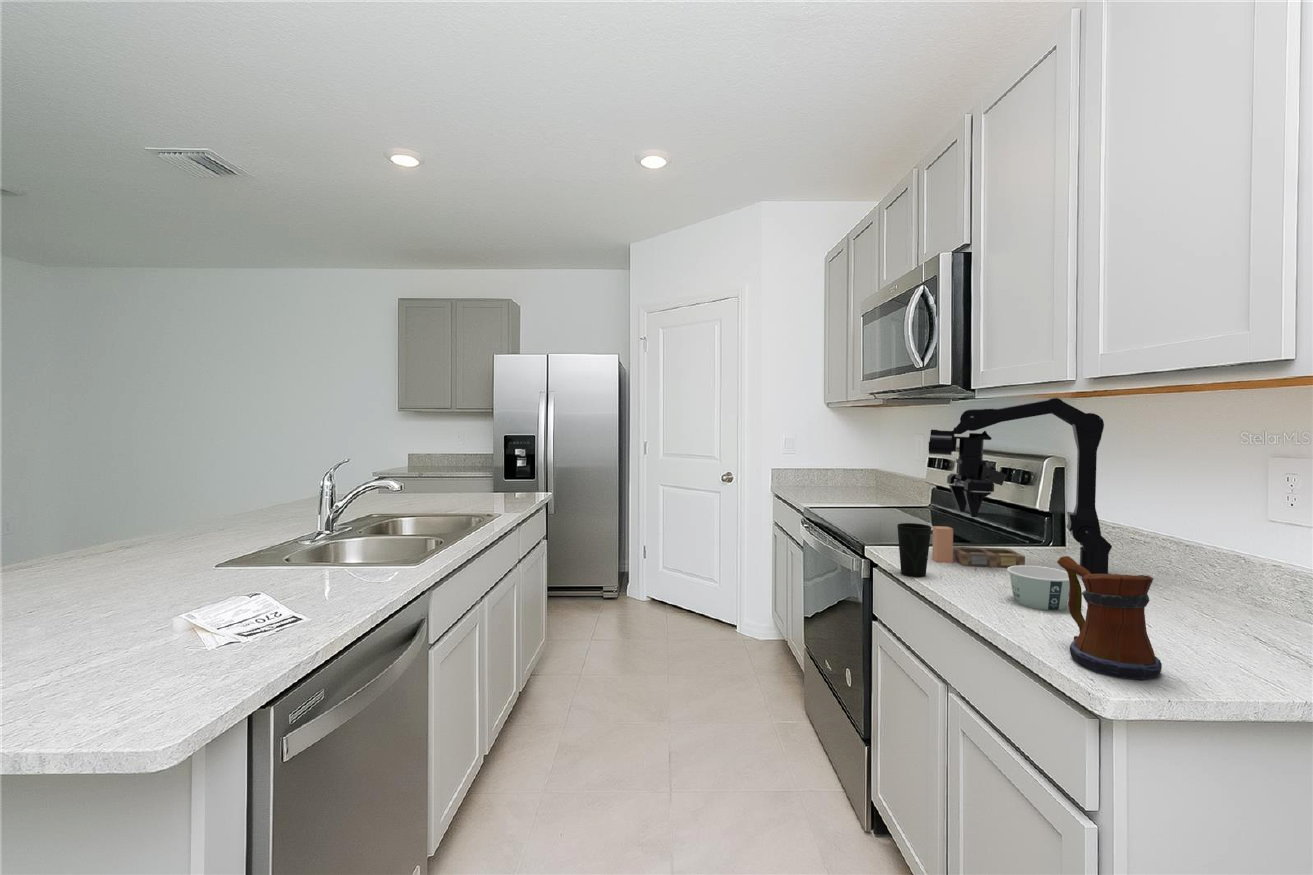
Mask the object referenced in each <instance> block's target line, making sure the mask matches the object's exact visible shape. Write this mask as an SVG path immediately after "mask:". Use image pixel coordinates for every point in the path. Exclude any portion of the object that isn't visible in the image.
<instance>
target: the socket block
mask: <svg viewBox="0 0 1313 875" xmlns="http://www.w3.org/2000/svg"><path fill="white" fill-rule="evenodd" d="M953 560H954V561H955V562H956V563H958V564H959V565H961V566H963V567H985V568H986V567H988V568H1006V569H1007V568H1008V567H1011V566H1018V565H1026V556H1025V555H1022V554H1021V553H1019V552H1017V551H1015V550H1013V549H1011V548H1005V547H1004V548H1002V547H978V546H977V547H976V546H975V547H974V546H973V547H972V546H953Z"/></svg>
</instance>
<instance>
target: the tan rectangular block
mask: <svg viewBox="0 0 1313 875" xmlns="http://www.w3.org/2000/svg"><path fill="white" fill-rule="evenodd" d="M953 547H954V528H952V527H951V526H944V525H943V526H941V525H936V526H935V525H932V548H931V549H932V551H931V552H932V555H931V557H932V558H931V559H932V560H933V561H935V563H944V564H945V563H949V564H950V563H951V564H953V560H954V559H953Z"/></svg>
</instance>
